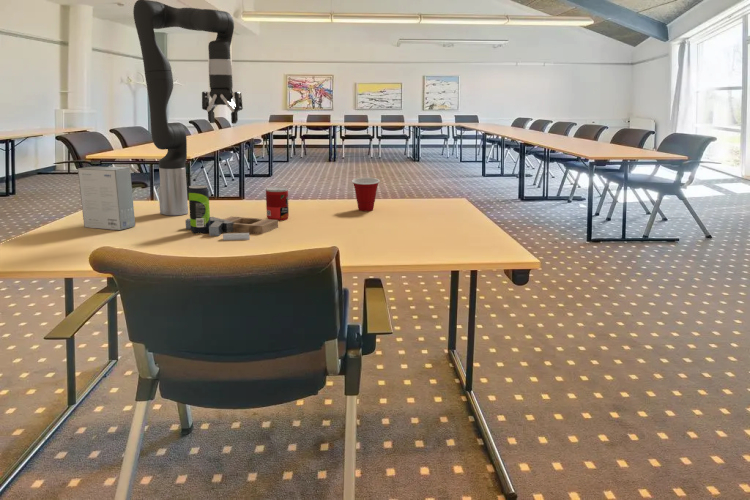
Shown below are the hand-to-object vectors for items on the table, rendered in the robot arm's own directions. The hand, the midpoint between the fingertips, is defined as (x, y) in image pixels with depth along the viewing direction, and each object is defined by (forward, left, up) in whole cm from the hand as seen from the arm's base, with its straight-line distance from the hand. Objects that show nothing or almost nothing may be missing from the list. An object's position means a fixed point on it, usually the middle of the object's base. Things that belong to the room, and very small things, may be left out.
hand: (223, 123), depth 214 cm
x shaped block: (+3, -15, -34) cm, 37 cm away
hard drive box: (-32, -22, -34) cm, 52 cm away
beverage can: (+1, -18, -34) cm, 39 cm away
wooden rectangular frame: (+12, -8, -34) cm, 37 cm away
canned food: (+14, +11, -34) cm, 39 cm away
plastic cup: (+38, +39, -34) cm, 64 cm away
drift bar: (+17, -23, -34) cm, 45 cm away
